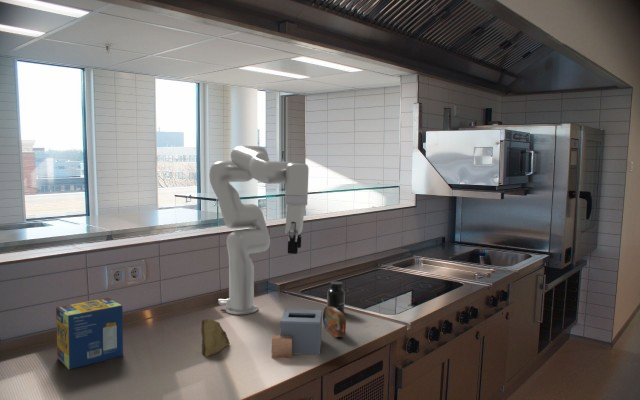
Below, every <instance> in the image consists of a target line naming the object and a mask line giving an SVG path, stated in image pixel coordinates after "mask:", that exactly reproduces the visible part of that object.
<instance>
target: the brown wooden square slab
mask: <svg viewBox="0 0 640 400" xmlns="http://www.w3.org/2000/svg"><path fill="white" fill-rule="evenodd" d="M271 358H272V359H293V336H280V335H275V334H273V335H272V336H271Z"/></svg>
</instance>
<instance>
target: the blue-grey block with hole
mask: <svg viewBox="0 0 640 400" xmlns="http://www.w3.org/2000/svg"><path fill="white" fill-rule="evenodd" d="M322 321H323V310H322V309H291V308H290V309H289V308H285V309H284V311H283V314H282V316H281V319H280V323H279V324H280V325H279V336H293V354H295V355H320V352H321V345H322V334H323V333H322V332H323V331H322V328H323V327H322V326H323V325H322V324H323V323H322Z"/></svg>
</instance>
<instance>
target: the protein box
mask: <svg viewBox="0 0 640 400" xmlns="http://www.w3.org/2000/svg"><path fill="white" fill-rule="evenodd" d="M123 310H124V309H123V305H122V304H121V303H119V302H117V301H115V300H113V299H111V298H110V297H105V298H100V299H95V300H89V301H84V302H77V303H72V304H66V305H60V306H56V307H55V311H56V314H55V315H56V342H57V343H56V351H57V352H56V353H57V359H58V360H59V362H61V364H62V365H64V366H65V367H66V368H67V370H72V369H73V370H74V369H77V368H80V367H84V366H88V365H93V364H96V363H99V362H103V361H107V360H111V359H114V358H119V357H122V356H124V329H123V327H124V326H123V325H124V321H123V315H124V314H123Z"/></svg>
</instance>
